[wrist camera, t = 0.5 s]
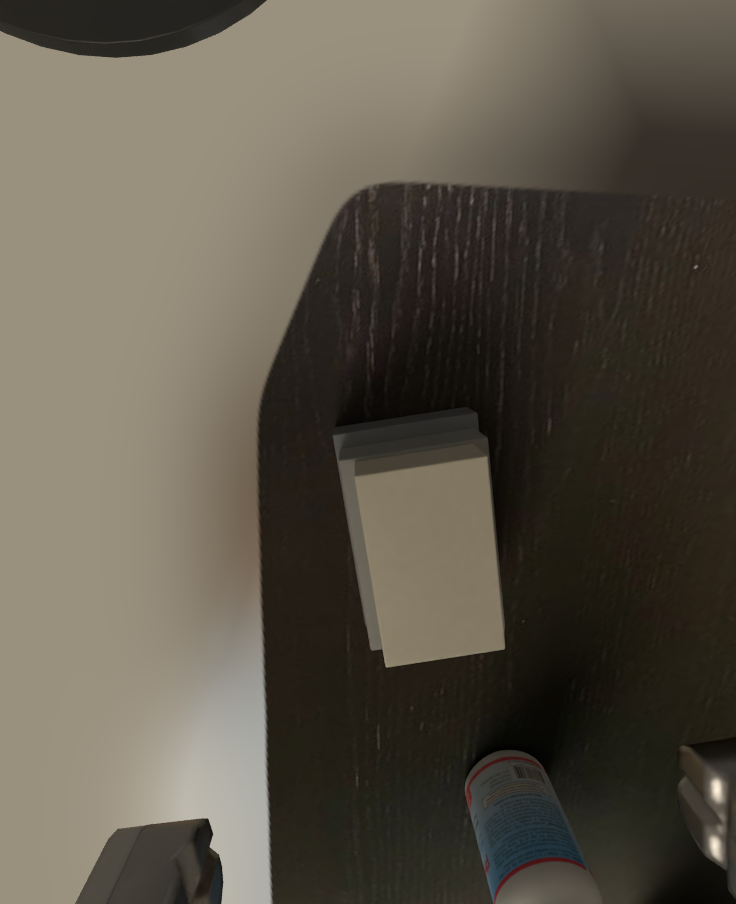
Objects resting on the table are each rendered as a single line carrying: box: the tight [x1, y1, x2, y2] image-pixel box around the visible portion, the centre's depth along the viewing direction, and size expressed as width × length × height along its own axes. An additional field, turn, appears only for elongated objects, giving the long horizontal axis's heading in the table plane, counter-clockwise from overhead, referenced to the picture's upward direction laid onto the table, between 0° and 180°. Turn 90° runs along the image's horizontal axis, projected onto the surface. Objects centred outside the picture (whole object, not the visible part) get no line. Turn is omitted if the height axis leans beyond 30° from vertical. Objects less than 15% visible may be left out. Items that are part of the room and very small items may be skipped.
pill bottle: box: [465, 750, 603, 904], centre depth 28 cm, size 6×6×11 cm
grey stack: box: [333, 407, 505, 651], centre depth 26 cm, size 12×8×5 cm, turn 9°
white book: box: [354, 444, 505, 667], centre depth 23 cm, size 10×6×2 cm, turn 9°
